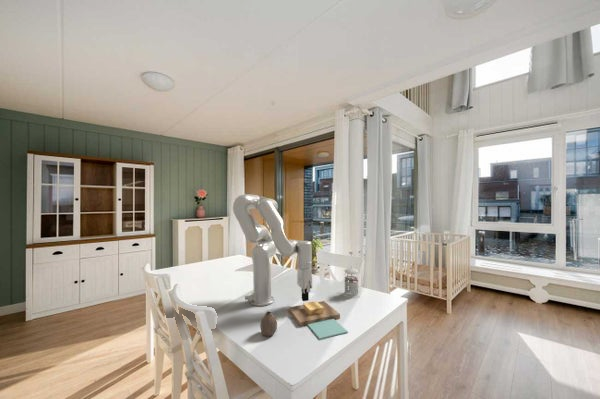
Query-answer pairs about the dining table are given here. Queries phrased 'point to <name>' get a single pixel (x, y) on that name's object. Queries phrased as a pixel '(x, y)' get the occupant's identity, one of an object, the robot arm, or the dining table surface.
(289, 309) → the wooden board
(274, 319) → the vase
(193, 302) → the dining table surface
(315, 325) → the mat
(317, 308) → the yellow flat block
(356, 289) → the french press
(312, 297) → the dining table surface
